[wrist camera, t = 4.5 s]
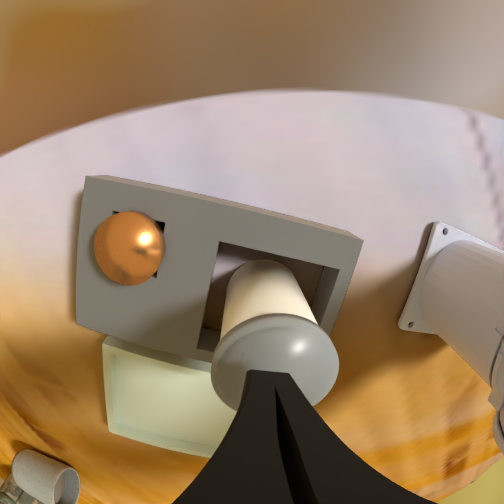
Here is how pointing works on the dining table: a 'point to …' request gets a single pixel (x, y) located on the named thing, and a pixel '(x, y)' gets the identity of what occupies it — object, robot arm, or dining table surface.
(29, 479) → the ceramic mug
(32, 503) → the lunch bag
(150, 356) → the tray
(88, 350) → the dining table surface
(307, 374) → the cylinder
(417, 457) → the dining table surface
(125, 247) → the orange round piece
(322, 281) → the housing
